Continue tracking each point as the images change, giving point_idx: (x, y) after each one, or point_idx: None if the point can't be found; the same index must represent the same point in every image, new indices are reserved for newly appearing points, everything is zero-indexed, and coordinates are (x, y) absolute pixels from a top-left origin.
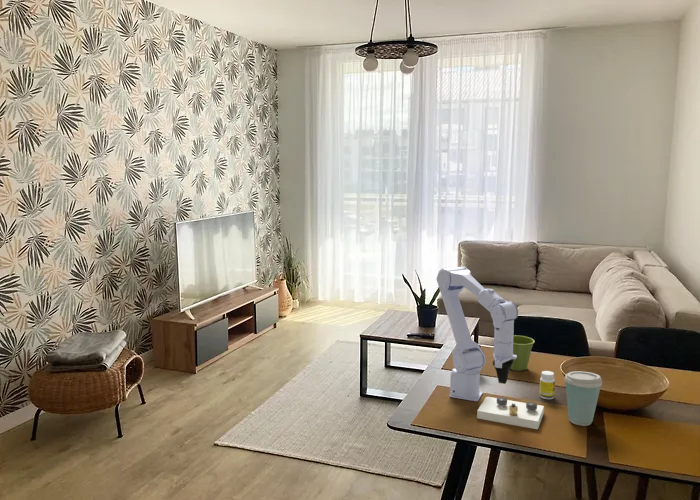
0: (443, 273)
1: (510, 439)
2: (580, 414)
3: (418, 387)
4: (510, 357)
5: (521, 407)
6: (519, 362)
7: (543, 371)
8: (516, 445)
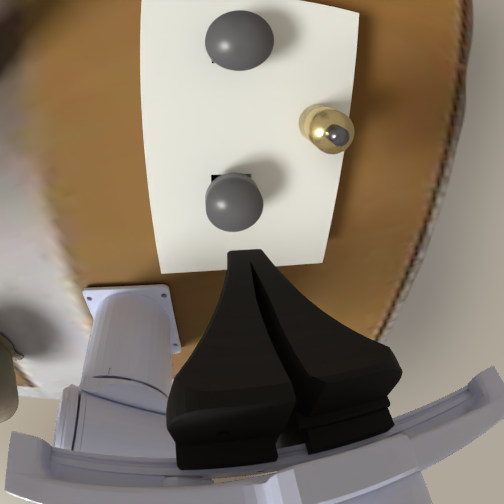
0: None
1: (434, 117)
2: None
3: None
4: (421, 466)
5: (216, 97)
6: None
7: None
8: (460, 101)
